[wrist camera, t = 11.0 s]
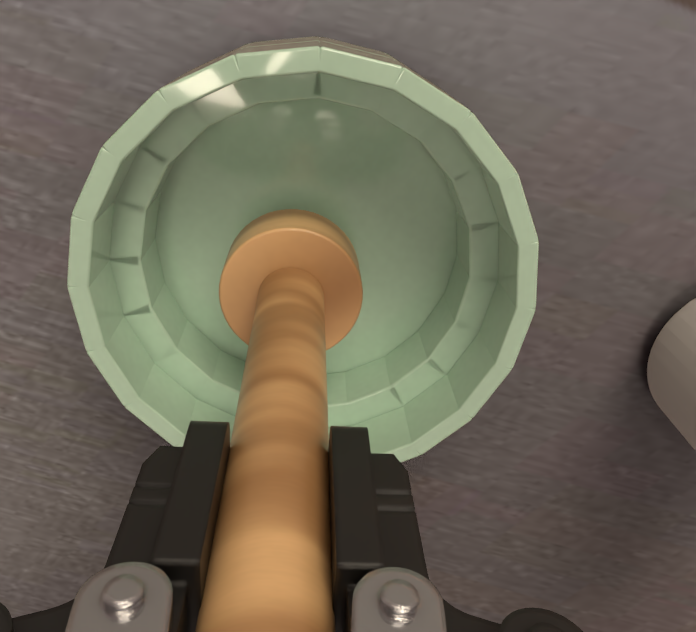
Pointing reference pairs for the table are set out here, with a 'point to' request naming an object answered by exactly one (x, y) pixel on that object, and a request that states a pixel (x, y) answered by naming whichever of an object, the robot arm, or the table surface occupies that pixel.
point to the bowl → (321, 198)
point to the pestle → (280, 425)
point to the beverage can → (676, 371)
